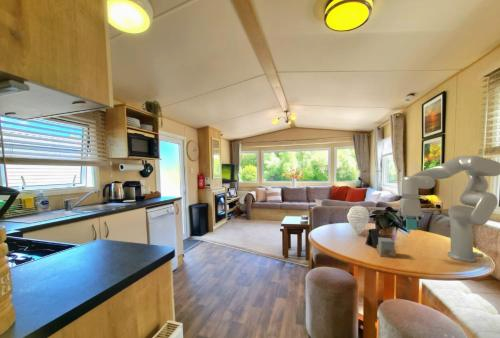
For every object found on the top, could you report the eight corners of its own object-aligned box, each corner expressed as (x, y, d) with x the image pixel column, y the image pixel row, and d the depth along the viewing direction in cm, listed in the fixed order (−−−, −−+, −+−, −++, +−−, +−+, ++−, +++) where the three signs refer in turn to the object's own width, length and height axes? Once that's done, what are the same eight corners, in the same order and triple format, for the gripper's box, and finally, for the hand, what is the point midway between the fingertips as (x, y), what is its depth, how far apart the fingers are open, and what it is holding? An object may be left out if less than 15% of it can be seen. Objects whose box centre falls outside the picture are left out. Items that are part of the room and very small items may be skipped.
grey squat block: (390, 246, 136) (390, 238, 136) (394, 250, 129) (394, 242, 129) (378, 245, 138) (378, 237, 138) (381, 249, 131) (381, 241, 131)
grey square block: (390, 253, 137) (390, 245, 137) (395, 258, 129) (395, 250, 129) (376, 252, 139) (376, 244, 139) (380, 257, 131) (380, 249, 131)
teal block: (412, 227, 129) (412, 217, 129) (416, 230, 124) (417, 219, 124) (403, 227, 130) (403, 217, 130) (407, 229, 125) (407, 219, 125)
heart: (369, 241, 159) (368, 211, 158) (346, 237, 166) (346, 209, 166) (369, 230, 183) (369, 205, 182) (349, 228, 191) (349, 203, 190)
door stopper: (382, 247, 146) (382, 230, 145) (375, 248, 144) (375, 231, 144) (372, 243, 154) (372, 226, 154) (365, 244, 153) (365, 227, 153)
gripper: (423, 196, 128) (423, 226, 128) (391, 195, 133) (391, 224, 133) (430, 198, 121) (430, 230, 121) (396, 197, 125) (396, 227, 126)
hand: (409, 226), depth 127 cm, fingers closed on teal block, 4 cm apart
